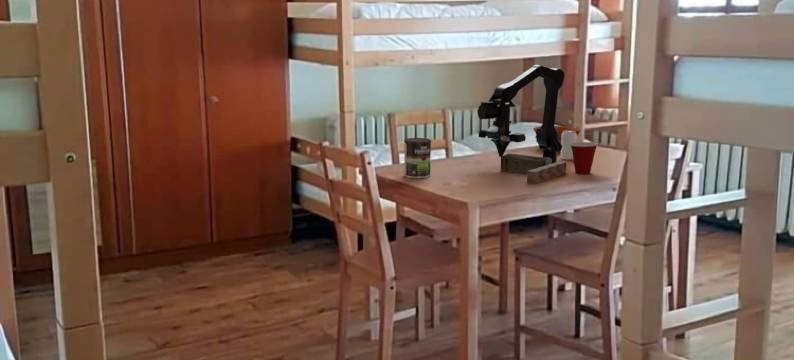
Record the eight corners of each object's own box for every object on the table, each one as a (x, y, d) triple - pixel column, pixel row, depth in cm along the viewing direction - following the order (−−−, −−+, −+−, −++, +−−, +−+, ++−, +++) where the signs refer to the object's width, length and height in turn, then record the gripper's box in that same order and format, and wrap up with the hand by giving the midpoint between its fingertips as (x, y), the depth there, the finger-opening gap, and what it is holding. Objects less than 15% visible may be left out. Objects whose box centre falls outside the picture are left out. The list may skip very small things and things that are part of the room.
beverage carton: (545, 176, 316) (546, 159, 315) (499, 171, 325) (499, 155, 324) (551, 172, 323) (552, 156, 322) (506, 168, 332) (507, 152, 331)
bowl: (537, 144, 388) (538, 123, 386) (583, 147, 380) (584, 126, 378) (528, 151, 369) (529, 129, 366) (575, 154, 361) (576, 132, 359)
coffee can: (435, 177, 313) (436, 140, 310) (411, 179, 308) (412, 142, 305) (422, 172, 322) (422, 136, 319) (399, 174, 317) (399, 138, 314)
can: (577, 158, 352) (579, 130, 350) (572, 160, 347) (573, 132, 344) (563, 156, 356) (564, 129, 353) (558, 159, 350) (559, 131, 348)
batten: (559, 172, 323) (559, 161, 322) (565, 173, 321) (566, 162, 320) (526, 183, 303) (527, 171, 302) (533, 184, 301) (534, 172, 300)
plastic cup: (578, 168, 330) (579, 139, 327) (601, 172, 322) (603, 142, 319) (562, 172, 322) (564, 142, 320) (586, 176, 315) (587, 146, 312)
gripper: (471, 117, 322) (470, 156, 326) (512, 122, 311) (510, 162, 314) (486, 115, 331) (485, 153, 334) (527, 119, 320) (525, 159, 323)
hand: (500, 157), depth 326 cm, fingers closed
